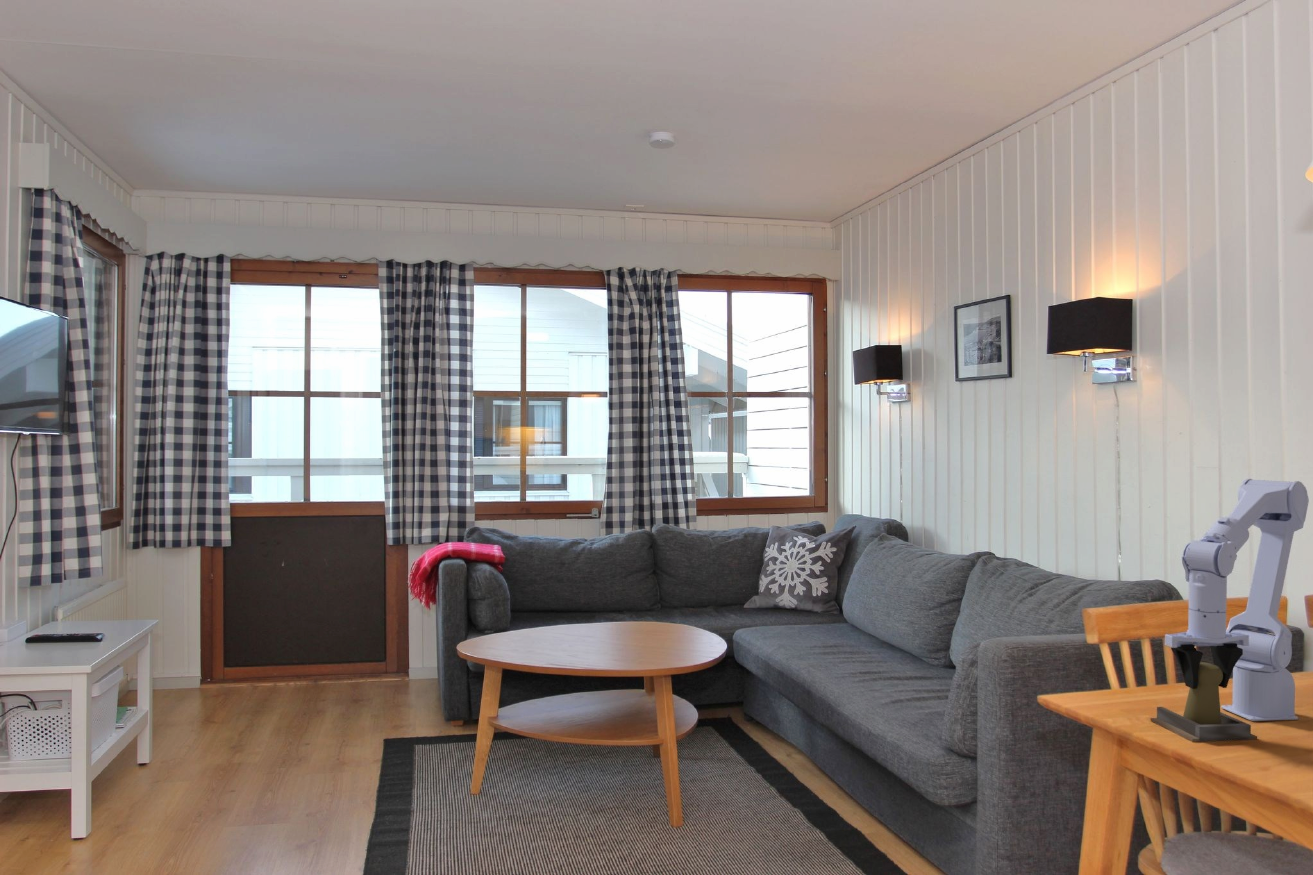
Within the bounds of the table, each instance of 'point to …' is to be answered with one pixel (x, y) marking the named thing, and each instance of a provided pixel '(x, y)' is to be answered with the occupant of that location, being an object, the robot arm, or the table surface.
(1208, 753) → the table surface
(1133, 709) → the table surface
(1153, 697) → the table surface
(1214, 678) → the olive rounded tapered post
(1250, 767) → the table surface
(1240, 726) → the shaker socket
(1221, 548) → the robot arm
